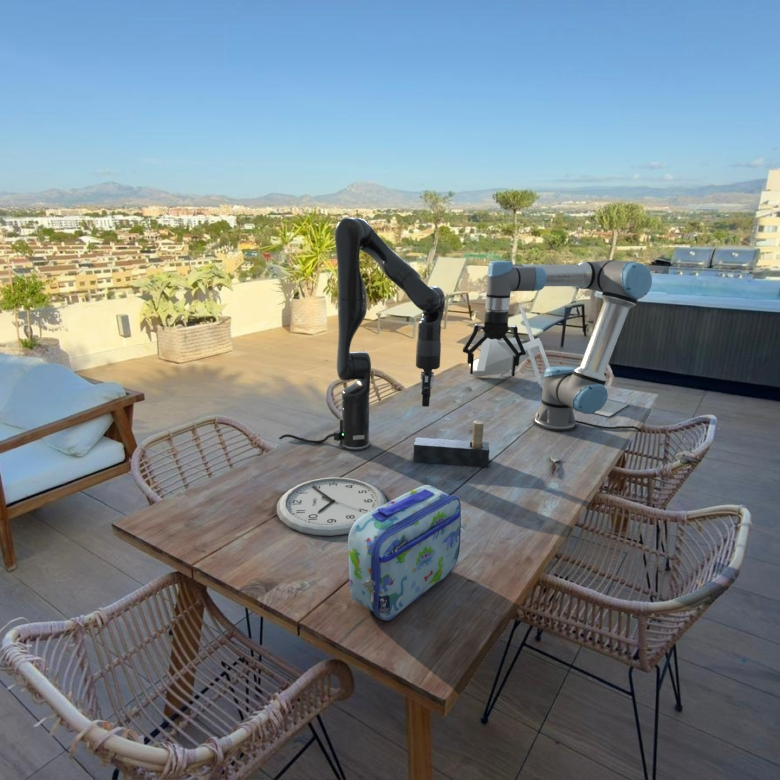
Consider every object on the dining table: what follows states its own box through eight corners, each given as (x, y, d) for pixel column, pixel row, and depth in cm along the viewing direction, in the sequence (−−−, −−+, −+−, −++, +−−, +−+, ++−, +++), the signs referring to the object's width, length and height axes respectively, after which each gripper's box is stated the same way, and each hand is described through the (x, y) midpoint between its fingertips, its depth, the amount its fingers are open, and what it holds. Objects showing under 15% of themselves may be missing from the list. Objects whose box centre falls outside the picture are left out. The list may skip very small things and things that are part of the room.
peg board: (487, 459, 173) (488, 442, 171) (488, 467, 167) (489, 450, 165) (415, 453, 176) (415, 437, 174) (413, 461, 170) (413, 444, 168)
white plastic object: (489, 418, 267) (470, 395, 242) (471, 346, 289) (451, 318, 264) (561, 394, 254) (547, 368, 230) (535, 321, 277) (521, 289, 252)
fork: (547, 475, 162) (548, 469, 162) (551, 455, 176) (551, 449, 176) (556, 476, 161) (557, 470, 161) (559, 456, 176) (560, 451, 175)
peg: (480, 464, 169) (483, 424, 165) (470, 463, 169) (473, 423, 165) (480, 460, 172) (483, 420, 168) (470, 459, 172) (473, 420, 168)
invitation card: (608, 416, 214) (573, 407, 224) (608, 416, 214) (573, 408, 224) (628, 404, 229) (594, 396, 238) (628, 405, 229) (594, 397, 238)
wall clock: (392, 527, 129) (268, 531, 127) (391, 533, 130) (269, 537, 127) (383, 473, 158) (282, 475, 155) (383, 478, 158) (282, 480, 156)
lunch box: (378, 635, 98) (379, 537, 91) (341, 606, 105) (340, 513, 99) (464, 574, 115) (470, 488, 109) (427, 553, 122) (431, 471, 116)
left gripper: (417, 346, 169) (416, 394, 174) (414, 357, 155) (412, 408, 160) (441, 347, 168) (438, 395, 173) (440, 358, 155) (437, 410, 160)
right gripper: (535, 310, 170) (528, 373, 176) (457, 307, 172) (454, 369, 179) (538, 313, 162) (531, 379, 169) (457, 310, 165) (454, 375, 171)
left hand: (426, 401), depth 167 cm, fingers open, 8 cm apart
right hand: (491, 374), depth 174 cm, fingers open, 13 cm apart
